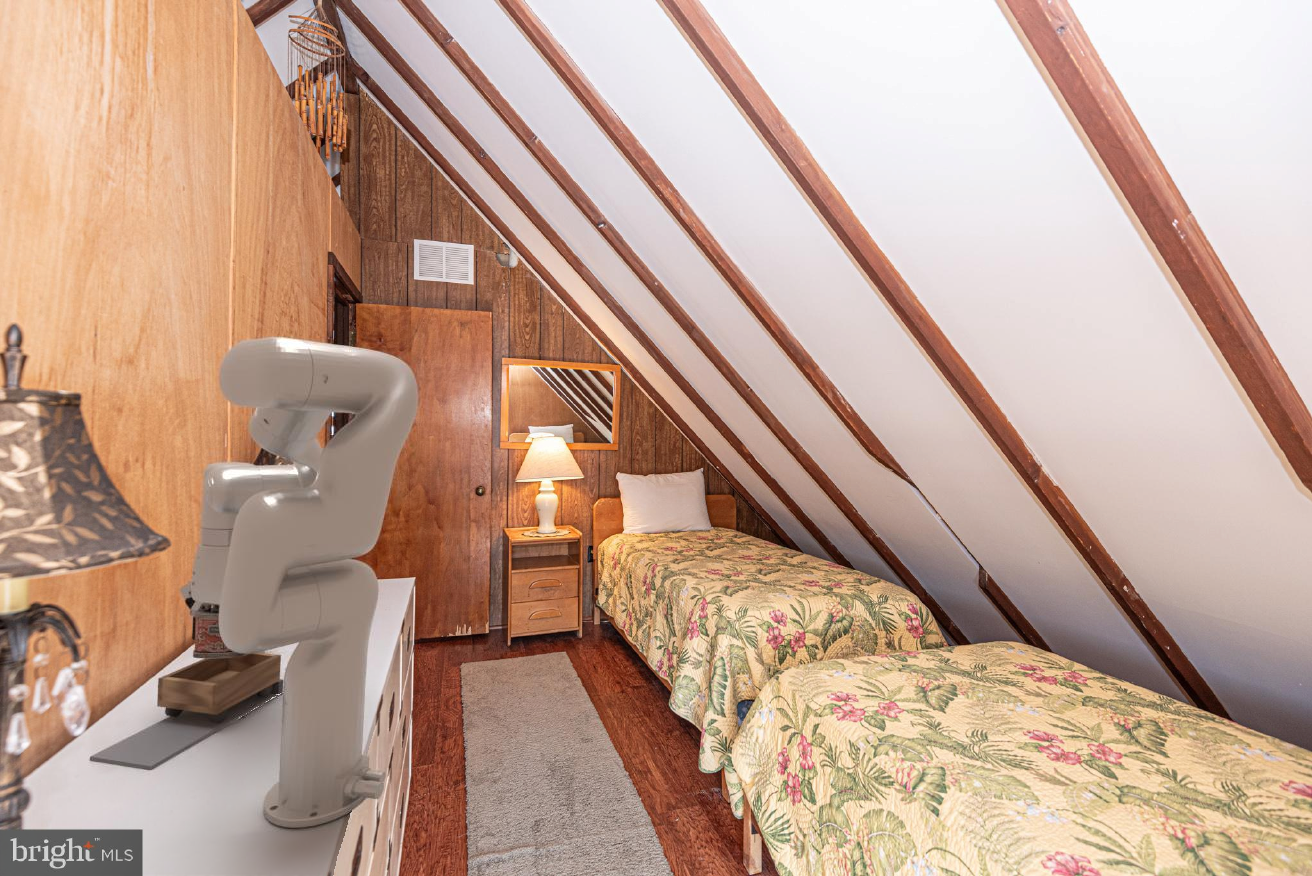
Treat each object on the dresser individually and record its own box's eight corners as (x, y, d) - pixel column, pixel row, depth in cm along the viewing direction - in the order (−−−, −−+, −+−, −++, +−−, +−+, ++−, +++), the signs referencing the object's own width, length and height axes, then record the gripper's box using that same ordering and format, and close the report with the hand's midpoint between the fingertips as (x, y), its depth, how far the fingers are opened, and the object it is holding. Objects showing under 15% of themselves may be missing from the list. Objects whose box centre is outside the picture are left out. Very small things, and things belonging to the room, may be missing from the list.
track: (282, 693, 103) (283, 679, 103) (151, 769, 80) (151, 752, 80) (233, 686, 104) (234, 673, 104) (89, 760, 81) (90, 742, 81)
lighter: (188, 659, 93) (190, 599, 93) (198, 650, 96) (201, 592, 96) (245, 657, 95) (248, 599, 95) (253, 648, 99) (256, 592, 98)
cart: (279, 692, 102) (280, 655, 101) (215, 728, 89) (217, 686, 89) (226, 685, 103) (228, 648, 103) (156, 720, 91) (158, 678, 90)
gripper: (293, 536, 98) (288, 637, 99) (203, 527, 100) (199, 626, 101) (257, 545, 91) (251, 654, 91) (161, 535, 93) (156, 642, 93)
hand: (224, 639), depth 96 cm, fingers closed on lighter, 7 cm apart
